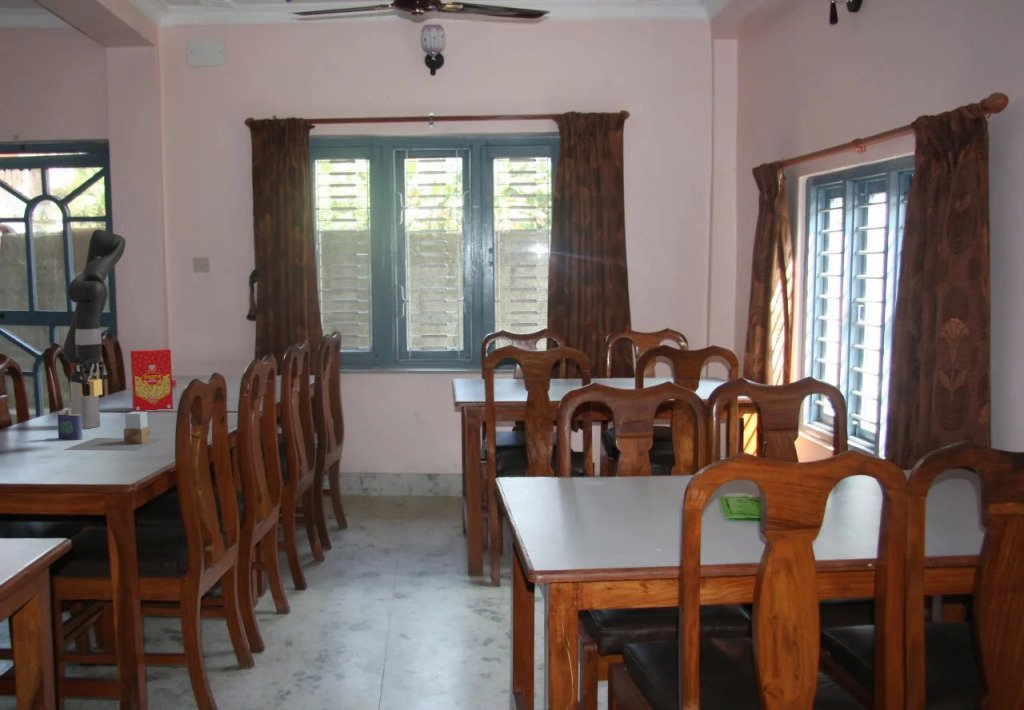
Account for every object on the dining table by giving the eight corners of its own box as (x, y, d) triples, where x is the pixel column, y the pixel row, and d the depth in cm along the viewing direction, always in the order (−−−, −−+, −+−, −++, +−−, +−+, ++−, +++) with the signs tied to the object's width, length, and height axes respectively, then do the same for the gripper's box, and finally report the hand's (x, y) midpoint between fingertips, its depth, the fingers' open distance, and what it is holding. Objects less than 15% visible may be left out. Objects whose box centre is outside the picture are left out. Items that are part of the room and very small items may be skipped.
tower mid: (125, 428, 289) (125, 413, 288) (133, 426, 294) (132, 411, 293) (140, 428, 289) (140, 414, 288) (147, 426, 294) (147, 411, 293)
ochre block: (79, 396, 283) (78, 381, 282) (87, 394, 287) (87, 379, 287) (94, 396, 282) (93, 381, 282) (102, 394, 287) (101, 379, 287)
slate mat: (63, 450, 280) (63, 449, 280) (96, 439, 300) (95, 437, 300) (136, 451, 279) (136, 450, 279) (164, 439, 298) (164, 438, 298)
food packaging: (134, 412, 356) (132, 351, 353) (133, 411, 360) (130, 350, 358) (173, 409, 363) (170, 350, 361) (170, 408, 368) (168, 349, 365)
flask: (84, 440, 298) (82, 409, 297) (77, 441, 295) (76, 410, 294) (62, 438, 301) (60, 407, 300) (55, 440, 298) (53, 409, 297)
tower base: (124, 444, 289) (123, 429, 288) (133, 440, 295) (132, 425, 294) (142, 444, 289) (141, 429, 288) (150, 440, 295) (149, 426, 294)
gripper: (89, 340, 291) (91, 391, 292) (64, 344, 276) (67, 397, 278) (111, 341, 290) (113, 391, 292) (87, 344, 276) (90, 397, 277)
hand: (90, 394), depth 285 cm, fingers closed on ochre block, 5 cm apart
